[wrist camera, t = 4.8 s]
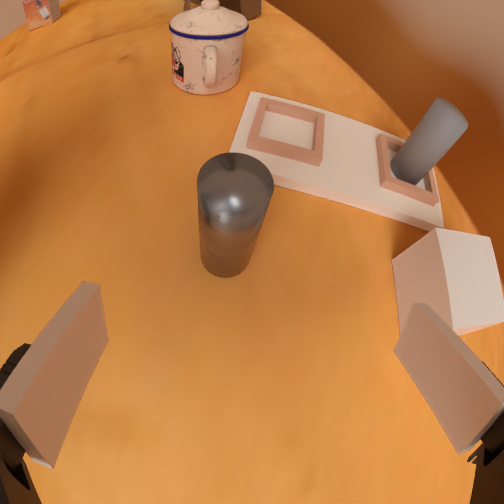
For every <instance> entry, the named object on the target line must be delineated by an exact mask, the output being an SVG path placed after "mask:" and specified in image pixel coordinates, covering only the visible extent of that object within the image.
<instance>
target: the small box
mask: <svg viewBox="0 0 504 504" xmlns="http://www.w3.org/2000/svg"><path fill="white" fill-rule="evenodd" d="M23 7H24V12H25V16H26V20H27V25H28V29H29V31H30V30H33V29H36V28H39V27H42V26H45V25H49V24H52V23H53V22H54V21H56V20H57V19H58V18H59V17H60V16H61V12H60V6H59V1H58V0H23Z"/></svg>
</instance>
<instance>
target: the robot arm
mask: <svg viewBox="0 0 504 504" xmlns="http://www.w3.org/2000/svg"><path fill="white" fill-rule="evenodd" d="M108 341H109V340H108V334H107V329H106V323H105V317H104V311H103V304H102V297H101V290H100V284H97V283H89V282H82V283H81V285H80V286H79V287H78V288H77V289H76V290H75V291H74V293H73V294H72V295H71V296H70V297H69V298H68V300H67V301H66V302H65V303H64V304H63V306H62V307H61V308H60V309H59V311H58V312H57V313H56V314H55V315H54V317H53V318H52V319H51V320H50V322H49V323H48V324H47V325H46V327H45V328H44V329H43V331H42V332H41V333H40V334H39V336H38V337H37V338H36V340H35V341H34V342H33V344H32V345H30V344H26V343H25V344H23V345H22V346H20V347H19V348H17V349H16V350H14V351H13V353H12V354H11V355H10V357H9V358H8V359H7V361H6V363H4V365H3V366H2V368H1V369H0V504H42V503H41V501H40V499H39V496H38V494H37V492H36V489H35V487H34V485H33V482H32V479H31V477H30V474H29V471H28V469H27V466H26V464H25V462H24V460H23V456H24V453H25V452H26V453H27V454H28V455H29V456H30V458H31V459H32V460H33V461H35V462H37V463H39V464H42V465H44V466H47V467H49V468H52V469H54V466H55V463H56V460H57V458H58V455H59V452H60V450H61V447H62V444H63V442H64V439H65V436H66V434H67V431H68V429H69V426H70V424H71V421H72V419H73V417H74V414H75V412H76V409H77V407H78V405H79V402H80V400H81V398H82V396H83V393H84V391H85V389H86V387H87V384H88V382H89V380H90V378H91V376H92V374H93V371H94V369H95V367H96V365H97V363H98V361H99V359H100V357H101V355H102V353H103V351H104V349H105V347H106V345H107V343H108ZM394 353H395V354H396V356H397V357H398V359H399V360H400V362H401V363H402V365H403V366H404V368H405V369H406V371H407V372H408V374H409V375H410V377H411V378H412V380H413V381H414V383H415V384H416V386H417V387H418V389H419V391H420V392H421V394H422V395H423V397H424V398H425V400H426V402H427V403H428V405H429V406H430V408H431V410H432V411H433V413H434V414H435V416H436V418H437V419H438V421H439V423H440V424H441V426H442V428H443V429H444V431H445V433H446V434H447V436H448V438H449V439H450V441H451V443H452V445H453V446H454V448H455V450H456V452H457V453H458V455H459V454H462V453H464V452H466V451H468V450H470V449H471V448H472V447H473V446H474V445H475V444H476V443H477V442H478V441H479V440H480V439H481V440H482V442H483V443H482V444H481V445H480V446H479V447H478V448H477V450H476V451H475V452H474V453H473V454H472V455H471V456H470V457H469V458H468V460H467V462H470V461H471V460H472V459H473V458H474V457H475V456H477V457H476V458H475V459H474V460H473V462H472V463H473V464H476V471H475V478H474V484H473V489H472V495H471V500H470V504H504V386H503V384H502V383H501V382H500V381H499V380H498V378H496V376H495V375H494V374H493V373H492V372H490V369H489V368H488V367H487V366H486V365H485V363H484V362H482V361H481V360H480V359H479V358H478V357H477V356H476V355H475V354H474V352H473V351H472V350H471V349H470V348H469V347H468V346H467V345H466V344H465V343H464V342H463V340H462V339H461V338H460V337H459V336H458V335H457V334H456V333H455V332H454V331H453V330H452V329H451V328H450V327H449V326H448V325H447V324H446V323H445V322H444V321H443V320H442V319H441V318H440V317H439V316H438V315H437V314H436V313H435V312H434V311H433V310H432V309H431V308H430V307H429V306H428V305H427V304H426V303H413V305H412V308H411V311H410V313H409V316H408V318H407V321H406V323H405V326H404V328H403V331H402V333H401V335H400V338H399V340H398V342H397V345H396V347H395V349H394Z"/></svg>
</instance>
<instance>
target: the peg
mask: <svg viewBox="0 0 504 504" xmlns="http://www.w3.org/2000/svg"><path fill="white" fill-rule="evenodd" d="M273 189H274V181H273V177H272V174H271V173H270V171H269V169H268V168H267V167H266V166H265V165H264V164H263V163H262V162H261V161H260V160H258V159H256V158H254V157H252V156H250V155H247V154H243V153H235V152H234V153H224V154H220V155H217V156H215V157H213V158H211V159H210V160H208V161H207V162H206V163H205V164H204V165H203V166H202V168H201V169H200V171H199V174H198V178H197V191H198V215H199V234H200V251H201V260H202V263H203V265H204V267H205V268H206V269H207V270H208V271H209V272H210V273H212V274H213V275H215V276H218V277H223V278H228V277H233V276H236V275H238V274H240V273H241V272H242V271H243V270H244V269H245V268H246V266H247V264H248V262H249V259H250V256H251V254H252V251H253V248H254V245H255V242H256V239H257V236H258V233H259V231H260V228H261V225H262V222H263V219H264V216H265V213H266V210H267V208H268V205H269V202H270V199H271V196H272V193H273Z"/></svg>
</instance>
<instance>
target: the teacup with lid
mask: <svg viewBox="0 0 504 504" xmlns="http://www.w3.org/2000/svg"><path fill="white" fill-rule="evenodd" d="M219 5H220V3H219V1H218V0H203V1H202V3H201V6H198V7H196V8H193V9H191V10H187V11H184V12H181V13H179V14H177V15H176V16H175V17H173V19H172V20H171V22H170V24H169V29H170V31H171V43H172V71H173V81H174V83H175V85H176V86H177V87H178V88H180V89H181V90H183V91H185V92H188V93H192V94H200V95H210V94H217V93H221V92H224V91H227V90H229V89H231V88H232V87H233V86H235V85H236V83H237V82H238V80H239V74H240V67H241V60H242V53H243V46H244V40H245V33H246V31H247V30H248V27H249V25H248V21H247V19H246V18H245V17H244V16H243V15H242V14H240V13H238V12H235V11H232V10H228V9H227V8H224V7H222V6H219Z"/></svg>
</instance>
